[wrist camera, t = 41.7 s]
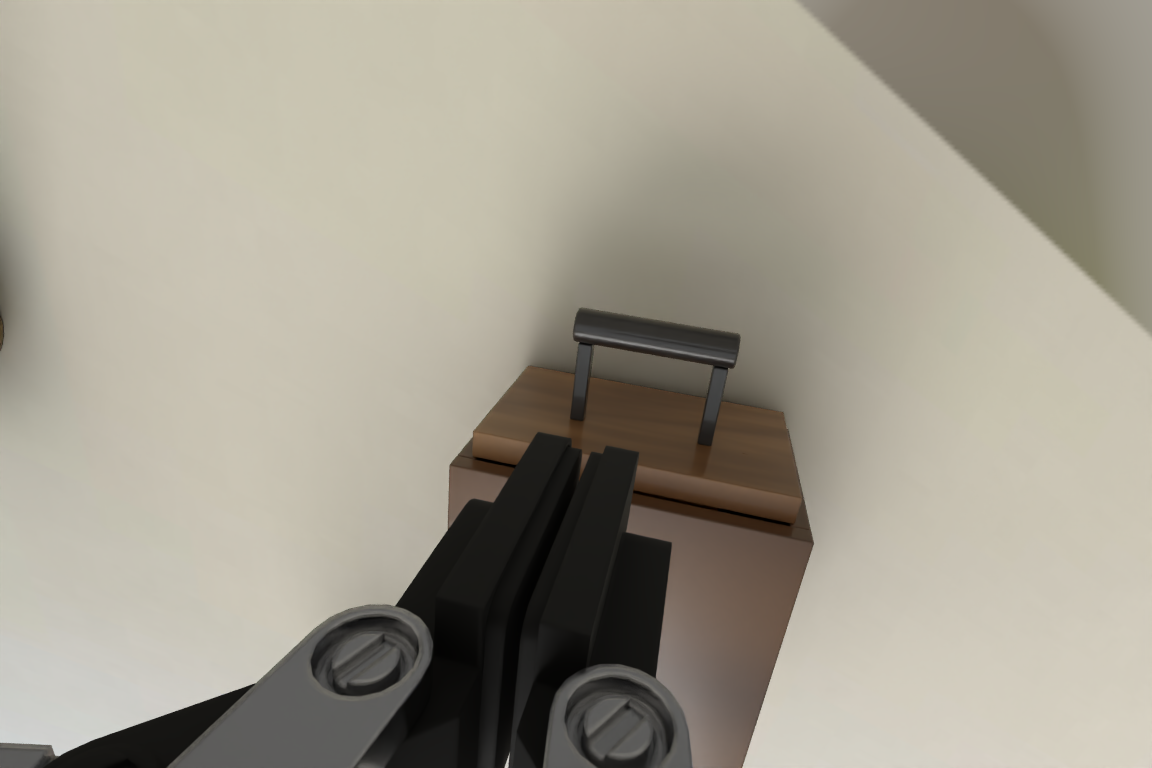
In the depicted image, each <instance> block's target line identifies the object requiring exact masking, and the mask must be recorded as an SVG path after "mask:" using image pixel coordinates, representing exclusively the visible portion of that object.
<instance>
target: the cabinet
mask: <svg viewBox="0 0 1152 768" xmlns="http://www.w3.org/2000/svg"><path fill="white" fill-rule="evenodd" d="M787 432H788V436H789V441H790V445H791V450H792V454H793V459H794V463H795V468H796V472H797V477H798V482H799V486H800V491H801V495H802V502H801V505H800V508H799V512H798V515H797V518H796V522H795V524H791V523H786V522H781V521H777V520H772V519H767V518H764V521H762V520H757V519H752V518H748V517H743V516H738V515H734V514H729V513H724V512H719V511H715V510H710V509H705V508H701V507H696V506H691V505H686V504H682V503H677V502H672V501H668V500H663V499H658V498H653V497H649V496H644V495H639V494H635V493H633V495H632V501H631V507H630V513H629V519H628V525H627V530H626V532H628V533H632V534H637V535H641V536H646V537H650V538H655V539H659V540H664V541H668V542H672V549H671V558H670V566H669V574H668V582H667V590H666V599H665V607H664V615H663V623H662V631H661V640H660V648H659V656H658V664H657V672H656V679H657V680H659V681H660V682H661V683H662V684H663V685H664V686H665V687H666V688H667V689H668V690H669V691H670V692H672V693H673V695H674V697H675V698H676V700H677V701H678V703H679V704H680V706H681V708H682V709H683V711H684V714H685V718H686V722H687V725H688V729H689V735H690V744H691V753H692V762H693V768H742V766H743V763H744V760H745V757H746V754H747V751H748V748H749V745H750V741H751V738H752V735H753V732H754V729H755V726H756V723H757V720H758V716H759V713H760V710H761V707H762V704H763V701H764V698H765V695H766V691H767V688H768V685H769V682H770V679H771V676H772V673H773V670H774V666H775V663H776V660H777V657H778V654H779V651H780V648H781V645H782V642H783V638H784V635H785V632H786V629H787V626H788V623H789V620H790V617H791V613H792V610H793V607H794V604H795V601H796V598H797V595H798V592H799V588H800V585H801V582H802V579H803V576H804V573H805V570H806V567H807V563H808V560H809V557H810V554H811V551H812V548H813V545H814V542H813V537H812V533H811V529H810V524H809V520H808V515H807V511H806V506H805V502H804V497H803V493H802V488H801V484H800V479H799V475H798V471H797V466H796V462H795V457H794V453H793V448H792V444H791V439H790V435H789V431H788V429H787ZM472 448H473V437H472V438H471V440H470V441H469V442H468V443H467V445H466V446H465V447H464V448H463V449H462V451H461V452H460V453H459V454H458V456H457V457H456V458H455V459H454V460H453V461H452V463H451V464H450V470H449V505H448V529H449V528H450V526H451V525H452V523H453V522H454V521H455V519H456V518H457V516H458V515H459V513H460V512H461V510H462V509H463V508H464V506H465V505H466V504H467V502H468V501H469V500H470V499H473V498H475V499H480V500H484V501H489V502H493V503H494V501H495V499H496V498H497V496H498V495H499V493H500V491H501V490H502V488H503V487H504V485H505V483H506V482H507V480H508V478H509V477H510V475H511V474H512V472H513V470H514V469H515V468H512V467H507V466H502V464H503V463H502V462H497V461H493V460H488V459H483V458H478V457H474V456H472Z"/></svg>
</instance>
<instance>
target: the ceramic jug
mask: <svg viewBox="0 0 1152 768" xmlns="http://www.w3.org/2000/svg"><path fill="white" fill-rule="evenodd" d="M3 337H4V334H3V323H2V321H1V318H0V350H1V347H2V343H3Z"/></svg>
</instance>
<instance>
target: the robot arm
mask: <svg viewBox="0 0 1152 768" xmlns="http://www.w3.org/2000/svg"><path fill="white" fill-rule="evenodd" d="M638 459H639V452H637V451H632V450H627V449H622V448H617V447H612V446H607V445H606V447H605V449H604V452H603V453H598V452H593V451H592V452H591V453H590V456H589V458H588V461H587V463H586V466H585V468H584V470H583V473H582V475H581V478H580V480H579V477H580V469H581V461H582V449H578V448H573V447H572V440H571V438H568V437H563V436H558V435H553V434H548V433H543V432H537V434H536V435H535V437H534V438H533V440H532V441H531V443H530V445H529V446H528V448H527V450H526V451H525V453H524V454H523V456H522V458H521V459H520V461H519V462H518V464H517V466H516V467H515V469H514V470H513V472H512V474H511V475H510V477H509V478H508V480H507V482H506V483H505V485H504V487H503V488H502V490H501V491H500V493H499V495H498V496H497V498H496V499H495V501H494V503H493V502H489V501H484V500H480V499H475V498H473V499H470V500H469V501H468V502H467V504H466V505H465V506H464V508H463V509H462V510H461V512H460V513H459V515H458V516H457V518H456V519H455V521H454V522H453V523H452V525H451V526H450V528H449V529H448V531H447V532H446V534H445V535H444V536H443V538H442V539H441V541H440V542H439V544H438V545H437V547H436V548H435V549H434V551H433V552H432V554H431V555H430V557H429V558H428V559H427V561H426V562H425V564H424V565H423V567H422V568H421V570H420V571H419V572H418V574H417V575H416V577H415V578H414V580H413V581H412V583H411V584H410V585H409V587H408V588H407V590H406V591H405V593H404V594H403V596H402V597H401V598H400V600H399V601H398V603H397V604H396V606H391V605H365V606H360V607H355V608H351V609H348V610H345V611H343V612H341V613H338V614H336V615H334V616H332V617H330V618H328V619H327V620H326V621H324V622H323V623H322V624H320V625H319V626H317V627H316V628H315V629H313V630H312V631H311V632H310V633H309V634H308V635H307V636H306V637H305V638H304V639H303V640H302V641H301V642H300V643H299V644H297V645H296V646H295V647H294V648H293V649H292V650H291V651H290V652H289V653H288V654H287V655H286V656H285V657H284V658H283V659H281V660H280V661H279V662H278V663H277V664H276V665H275V666H274V667H273V668H272V669H271V670H270V671H269V672H268V673H267V674H266V675H264V676H263V677H262V678H261V679H260V680H259V681H258V682H257V683H255V684H252V685H250V686H247V687H244V688H241V689H238V690H235V691H232V692H230V693H227V694H224V695H221V696H218V697H215V698H212V699H210V700H207V701H204V702H201V703H198V704H195V705H192V706H190V707H187V708H184V709H181V710H178V711H175V712H172V713H170V714H167V715H164V716H161V717H158V718H155V719H152V720H149V721H147V722H144V723H141V724H138V725H135V726H132V727H129V728H127V729H124V730H121V731H118V732H115V733H112V734H109V735H107V736H104V737H101V738H98V739H95V740H92V741H90V742H88V743H86V744H84V745H81V746H79V747H77V748H75V749H72V750H70V751H68V752H66V753H64V754H62V755H61V756H55V754H54V752H53V749H52V746H51V745H36V744H14V743H0V768H504V767H505V764H506V761H507V758H508V756H509V753H510V757H509V767H508V768H693V762H692V753H691V744H690V735H689V729H688V725H687V722H686V718H685V714H684V711H683V709H682V708H681V706H680V704H679V703H678V701H677V700H676V698H675V697H674V695H673V693H672V692H670V691H669V690H668V689H667V688H666V687H665V686H664V685H663V684H662V683H661V682H660V681H659V680H657V679H656V672H657V664H658V656H659V648H660V640H661V631H662V623H663V615H664V607H665V599H666V590H667V582H668V574H669V566H670V558H671V549H672V542H668V541H664V540H659V539H655V538H650V537H646V536H641V535H637V534H632V533H628V532H626V530H627V525H628V519H629V513H630V507H631V501H632V495H633V489H634V483H635V477H636V471H637V465H638Z"/></svg>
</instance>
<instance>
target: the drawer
mask: <svg viewBox="0 0 1152 768" xmlns="http://www.w3.org/2000/svg"><path fill="white" fill-rule="evenodd" d="M573 338H574V341H576V342H580V343H579V344H578V351H577V360H576V369H575V374H572V373H566V372H561V371H555V370H550V369H544V368H539V367H533V366H528V367H527V368H526V369H525V370H524V371H523V373H522V374H521V375H520V376H519V377H518V379H517V380H516V381H515V382H514V383H513V385H512V386H511V387H510V388H509V389H508V390H507V392H506V393H505V394H504V395H503V396H502V398H501V399H500V400H499V401H498V402H497V404H496V405H495V406H494V407H493V408H492V410H491V411H490V412H489V413H488V414H487V416H486V417H485V418H484V419H483V420H482V422H481V423H480V424H479V425H478V426H477V427H476V429H475V430H474V431H473V448H472V456H474V457H478V458H483V459H488V460H493V461H497V462H502V463H503V464H502V466H507V467H512V468H515V467H516V466H517V464H518V462H519V461H520V459H521V458H522V456H523V454H524V453H525V451H526V450H527V448H528V446H529V445H530V443H531V441H532V440H533V438H534V437H535V435H536V434H537V432H543V433H548V434H553V435H558V436H563V437H568V438H571V440H572V447H573V448H578V449H582V461H581V469H580V477H579V479H580V478H581V475H582V473H583V470H584V468H585V466H586V463H587V461H588V458H589V456H590V453H591V452H592V451H593V452H598V453H603V452H604V449H605V447H606V445H607V446H612V447H617V448H622V449H627V450H632V451H637V452H639V459H638V465H637V471H636V477H635V483H634V489H633V490H635V491H639V492H644V493H649V494H654V495H658V496H663V497H668V498H672V499H677V500H682V501H687V502H691V503H696V504H701V505H706V506H710V507H715V508H720V509H725V510H727V513H729V514H734V515H738V516H743V517H748V518H752V519H757V520H762V521H764V518H767V519H772V520H777V521H781V522H786V523H791V524H795V522H796V518H797V515H798V512H799V508H800V505H801V502H802V495H801V491H800V486H799V482H798V477H797V472H796V468H795V463H794V459H793V454H792V450H791V445H790V441H789V436H788V432H787V427H786V422H785V418H784V413H783V412H778V411H773V410H768V409H762V408H757V407H751V406H746V405H740V404H735V403H729V402H724V401H722V396H723V392H724V387H725V383H726V378H727V374H728V368H730V369H732V368H734V367H735V365H736V361H737V357H738V352H739V347H740V339H741V337H740V334H738V333H731V332H725V331H719V330H713V329H707V328H701V327H695V326H689V325H683V324H677V323H671V322H665V321H659V320H653V319H647V318H641V317H635V316H629V315H623V314H617V313H611V312H605V311H599V310H593V309H587V308H579V310H578V312H577V314H576V317H575V322H574V328H573ZM594 345H599V346H604V347H610V348H616V349H622V350H627V351H633V352H639V353H644V354H650V355H656V356H662V357H667V358H673V359H679V360H684V361H690V362H696V363H702V364H707V365H713V367H712V372H711V377H710V381H709V386H708V391H707V396H706V398H702V397H697V396H691V395H686V394H680V393H675V392H670V391H664V390H659V389H653V388H648V387H642V386H637V385H631V384H626V383H621V382H615V381H610V380H604V379H599V378H593V377H590V376H591V368H592V360H593V352H594Z"/></svg>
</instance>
